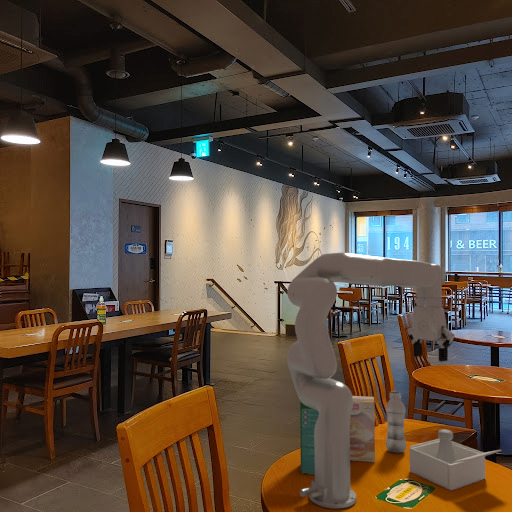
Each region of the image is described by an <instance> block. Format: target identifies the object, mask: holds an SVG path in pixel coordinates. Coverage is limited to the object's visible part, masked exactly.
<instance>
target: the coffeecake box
mask: <svg viewBox="0 0 512 512" xmlns="http://www.w3.org/2000/svg"><path fill="white" fill-rule="evenodd" d="M352 396H353V406H352V411H351V417H350V461H355V462H365V463H376V438H375V437H376V435H375V434H376V431H375V430H376V426H375V425H376V423H375V422H376V421H375V418H376V417H375V409H376V408H375V397H374V396H361V395H359V396H358V395H352Z"/></svg>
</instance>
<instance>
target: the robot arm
mask: <svg viewBox="0 0 512 512" xmlns="http://www.w3.org/2000/svg"><path fill="white" fill-rule="evenodd" d="M335 283H341V284H342V283H344V284H354V285H355V284H356V285H365V286H373V287H374V286H375V287H391V286H392V287H393V286H396V287H397V286H398V287H400V288H408V289H409V288H410V289H413V288H415V289H416V290H415V291H416V292H415V294H416V295H415V297H416V299H414V303H415V304H416V306H415V307H414V308H413V313H412V322H411V323H412V324H411V326H410V327H408V328H407V329H406V331H407V334H408V338H409V339H410V341H411V344H413V357H415V358H417V357H422V356H423V343H422V341H429V342H436V343H437V345H438V346H439V347H438V361H439V362H440V363H441V362H448V358H449V356H448V355H449V354H448V351H449V350H448V348H450V345H452V344H453V340H454V338H455V337H456V336H455V334H454V333H453V331H450V330H449V329H448V328H447V319H446V314H445V310H444V309H445V308H443V294H442V292H443V291H442V290H443V288H442V267H441V265H439V264H436V263H430V262H425V261H419V260H412V259H399V258H391V257H382V256H375V255H374V256H373V255H367V254H360V253H359V254H358V253H351V252H350V253H349V252H332V253H330V252H329V253H325V254H322V255H319V256H318V257H317V258H315V259H314V260H313V261H312V262H311V263H310V264H308V265H307V266H306V267H305V268H304V269H303V270H302V271H301V272H299V273H298V274H297V275H296V276H295V277H294V278H292V280H291V281H290V283H289V285H288V287H287V292H286V293H287V298H288V300H289V302H290V303H291V304H292V305H294V306H296V307H299V309H298V311H297V314H296V318H295V321H294V330H295V335H296V339H297V340H296V341H295V342H293V343H292V344H291V345H290V347H289V349H288V351H287V356H286V357H287V358H286V359H287V360H286V361H287V367H288V370H289V373H290V377H291V380H292V383H293V385H294V388H295V392H296V395H297V398H298V399H299V401H301V402H302V403H303V404H304V405H305V406H307V407H309V408H312V409H314V410H316V411H318V412H319V416H318V419H317V422H316V425H315V430H314V442H315V474H314V480H311V485H309V487H305V488H304V487H303V488H300V489H299V494H300V497H302V498H304V497H309V499H310V501H311V502H312V503H314V504H315V505H317V506H319V507H321V508H326V509H332V510H337V509H338V510H339V509H346V508H349V507H352V506H353V505H354V504H356V502H357V494H356V492H355V491H354V490H353V489H352V488H351V460H350V417H351V411H352V406H353V396H354V395H353V394H352V391H351V390H350V388H349V387H348V386H347V385H346V384H344V382H341V381H339V380H335V379H333V378H332V377H333V376H334V375H335V374H336V372H337V370H338V361H337V358H336V354H335V350H334V347H333V344H332V341H331V338H330V333H329V330H328V327H327V326H328V325H327V321H328V316H329V313H330V310H331V308H332V307H333V305H334V304H335V302H336V299H337V296H338V288H337V285H336V284H335Z"/></svg>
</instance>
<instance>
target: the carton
mask: <svg viewBox="0 0 512 512" xmlns="http://www.w3.org/2000/svg"><path fill="white" fill-rule="evenodd" d="M451 442H452V447H453V451H454V456H455V461H457V460H460V459H464V458H467V457H471V456H474V455H478V454H481V453H484V451H480V450H478V449H474V448H472V447H469V446H466V445H463V444H460V443H458V442H455V441H452V440H451ZM439 443H440V438H436V439H433V440H429V441H424V442H421V443H418V444H417V443H415V444H413V445H410V446H409V472H410V473H413V474H414V475H416V476H418V477H421V478H423V479H425V480H427V481H430V482H432V483H434V484H436V485H438V486H440V487H442V488H444V489H447V490H449V491H451V492H452V491H456V490H459V489H461V488H464V487H466V486H470V485H473V484H476V483H478V482H477V481H479V482H481V481H480V480H482V481H484V480H483V479H485V478H486V456H483V457H480V458H476V459H473V460H469V461H463V462H458V463H454V464H448V463H446V462H444V461H441V460H439V459H437V456H438V449H439ZM485 480H486V479H485ZM475 482H476V483H475ZM472 483H473V484H472Z"/></svg>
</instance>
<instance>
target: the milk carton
mask: <svg viewBox="0 0 512 512" xmlns="http://www.w3.org/2000/svg"><path fill="white" fill-rule="evenodd" d="M299 401H300V400H299ZM299 408H300V411H299V412H300V413H299V415H300V416H299V419H300V426H299V429H300V430H299V433H300V474H303V473H308V474H307V475H315V442H314V430H315V425H316V422H317V419H318V416H319V412H318V411H316V410H314V409H312V408H309V407H307V406H305V405H304V404H303V403H302V402H301V401H300V402H299Z"/></svg>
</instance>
